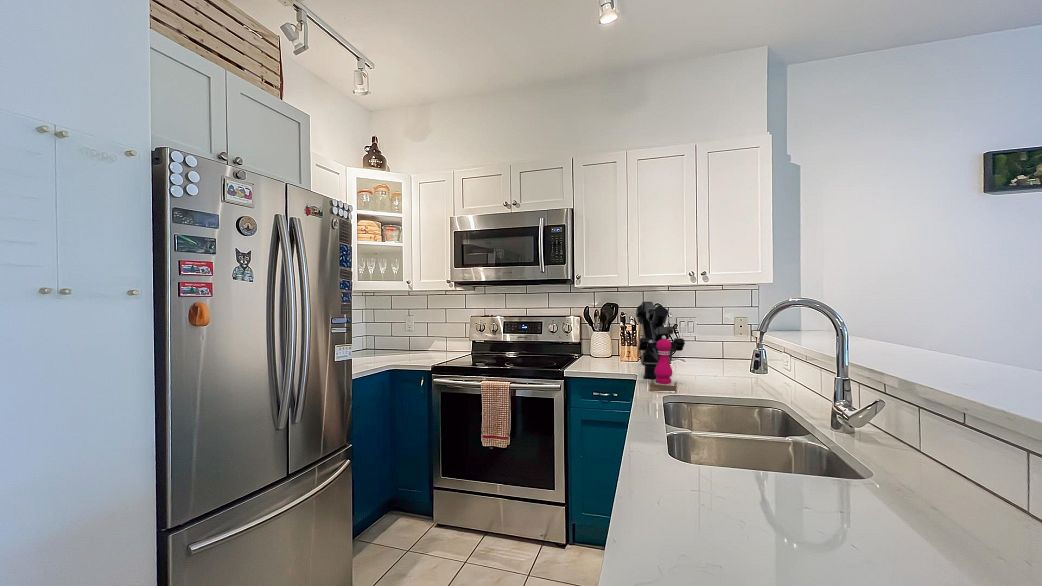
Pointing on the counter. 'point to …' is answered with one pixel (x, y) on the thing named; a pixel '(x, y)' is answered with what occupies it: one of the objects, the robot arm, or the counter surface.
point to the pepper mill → (663, 362)
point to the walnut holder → (662, 387)
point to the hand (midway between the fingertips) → (664, 360)
